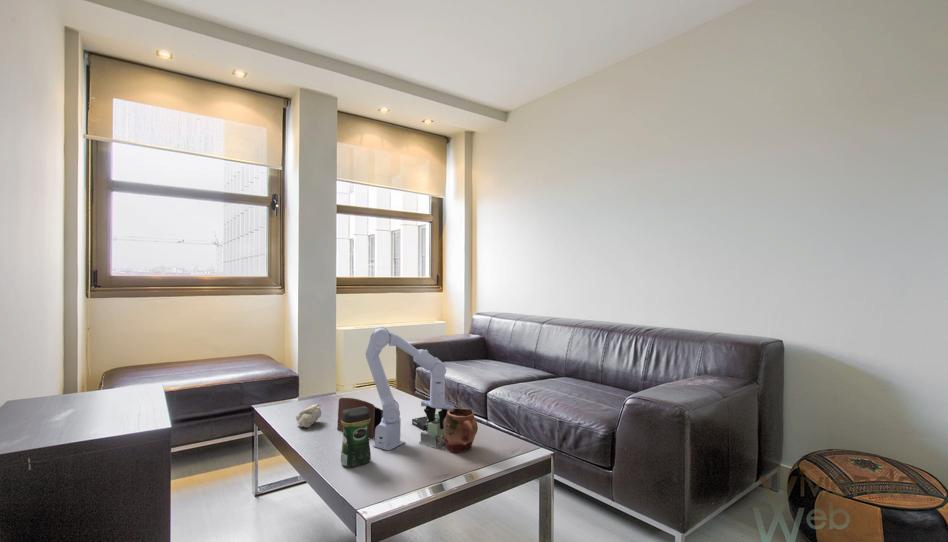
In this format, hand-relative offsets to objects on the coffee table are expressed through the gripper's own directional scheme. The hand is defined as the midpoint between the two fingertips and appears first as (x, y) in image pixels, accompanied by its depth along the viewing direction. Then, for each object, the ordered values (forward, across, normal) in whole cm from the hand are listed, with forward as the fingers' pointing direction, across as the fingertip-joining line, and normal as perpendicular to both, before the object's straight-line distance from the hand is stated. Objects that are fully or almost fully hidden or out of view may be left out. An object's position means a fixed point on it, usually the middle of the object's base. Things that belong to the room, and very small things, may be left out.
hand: (437, 427), depth 170 cm
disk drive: (+6, +13, -15) cm, 20 cm away
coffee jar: (+5, +12, +31) cm, 34 cm away
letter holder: (+5, +32, +7) cm, 33 cm away
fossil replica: (+5, +57, +14) cm, 59 cm away
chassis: (+5, 0, 0) cm, 5 cm away
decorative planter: (+6, -12, +3) cm, 14 cm away
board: (+2, 0, 0) cm, 2 cm away
